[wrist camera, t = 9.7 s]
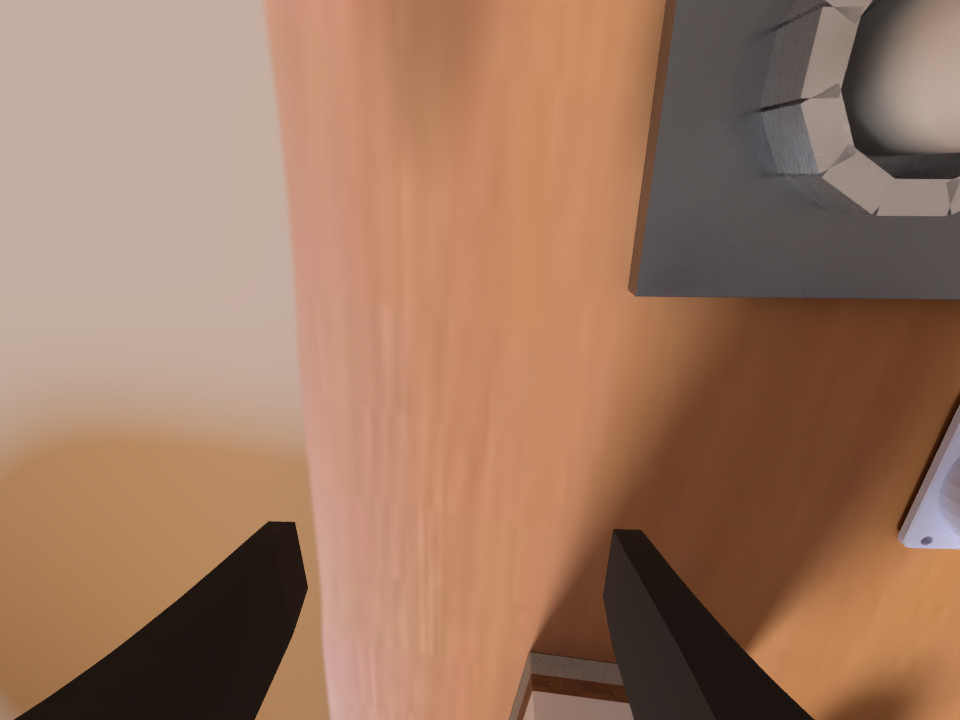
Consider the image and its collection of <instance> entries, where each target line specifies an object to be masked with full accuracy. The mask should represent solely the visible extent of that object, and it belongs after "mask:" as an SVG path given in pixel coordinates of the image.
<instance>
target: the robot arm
mask: <svg viewBox="0 0 960 720" xmlns="http://www.w3.org/2000/svg"><path fill="white" fill-rule="evenodd" d="M898 540H899V541H900V542H901V543H902V544H903V545H904V546H906V547H908V548H935V549H960V404H959V407H958V409H957V411H956V413H955V415H954V417H953V419H952V421H951V424H950V426H949V428H948V430H947V432H946V434H945V436H944V438H943V441H942V443H941V445H940V447H939V449H938V451H937V453H936V455H935V458H934V460H933V462H932V464H931V466H930V468H929V470H928V472H927V475H926V477H925V479H924V481H923V483H922V485H921V487H920V489H919V492H918V494H917V496H916V498H915V500H914V502H913V504H912V506H911V509H910V511H909V513H908V515H907V517H906V519H905V521H904V524H903V526H902V528H901V530H900V532H899V534H898ZM307 589H308V585H307V580H306V575H305V571H304V565H303V560H302V555H301V550H300V545H299V541H298V535H297V530H296V525H295V522H271V521H269V522H267V523H266V524H265V525H264V526H263V527H261V529H259V530H258V531H257V532H256V533H254V535H252V536H251V537H250V538H249V539H248V540H246V541H245V542H244V543H243V544H242V545H241V546H240V547H239V548H238V549H236V550H235V551H234V552H233V553H232V554H231V555H229V556H228V557H227V558H226V559H225V560H224V561H223V562H222V563H220V564H219V565H218V566H217V567H216V568H215V569H213V570H212V571H211V572H210V573H209V574H208V575H206V576H205V577H204V578H203V579H202V580H201V581H200V582H198V583H197V584H196V585H195V586H194V587H192V588H191V589H190V590H189V591H188V592H187V593H185V594H184V595H183V596H182V597H181V598H179V599H178V600H177V601H176V602H174V604H172V605H171V606H170V607H168V608H167V609H166V610H164V611H163V612H162V613H161V614H159V615H158V616H157V617H156V618H154V619H153V620H152V621H151V622H149V623H148V624H147V625H146V626H145V627H143V628H142V629H141V630H139V631H138V632H137V633H136V634H134V635H133V636H132V637H131V638H130V639H128V640H127V641H126V642H124V643H123V644H122V645H120V646H119V647H118V648H117V649H115V650H114V651H112V652H111V653H110V654H108V655H107V656H106V657H104V658H103V659H102V660H100V661H99V662H98V663H96V664H95V665H94V666H92V667H91V668H89V669H88V670H86V671H85V672H84V673H82V674H81V675H79V676H78V677H77V678H75V679H74V680H72V681H71V682H70V683H68V684H67V685H65V686H64V687H62V688H61V689H60V690H58V691H57V692H55V693H54V694H52V695H51V696H50V697H48V698H46V699H45V700H44V701H42V702H41V703H39V704H38V705H36V706H34V707H33V708H31V709H30V710H28V711H27V712H25V713H24V714H22V715H21V716H19V717H17V718H16V719H14V720H255V718H256V715H257V713H258V711H259V709H260V707H261V704H262V702H263V700H264V698H265V696H266V693H267V691H268V689H269V687H270V685H271V682H272V680H273V678H274V676H275V674H276V671H277V669H278V667H279V665H280V663H281V660H282V658H283V656H284V654H285V651H286V649H287V647H288V645H289V642H290V640H291V638H292V635H293V632H294V629H295V627H296V623H297V621H298V617H299V615H300V612H301V608H302V605H303V602H304V599H305V596H306V592H307ZM603 597H604V603H605V609H606V614H607V620H608V626H609V631H610V636H611V641H612V646H613V649H614V653H615V657H616V660H617V664H618V667H619V670H620V674H621V677H622V681H623V684H624V688H625V691H626V695H627V698H628V701H629V705H630V708H631V712H632V715H633V718H634V720H814V719H813V718H812V717H811V716H810V715H809V714H808V713H807V712H806V711H805V710H803V709H802V708H801V707H800V706H799V705H798V704H797V703H796V702H795V701H794V700H793V699H792V698H791V697H790V696H789V695H788V694H787V693H786V692H785V691H783V690H782V689H781V688H780V687H779V686H778V685H777V684H776V683H775V682H774V681H773V680H772V679H771V678H770V677H769V676H768V675H767V674H766V673H765V672H764V671H763V670H762V669H761V668H760V666H759V665H758V664H757V663H756V662H755V661H754V660H753V659H752V658H751V657H750V656H749V655H748V654H747V653H746V652H745V651H744V650H743V649H742V648H741V647H740V646H739V644H738V643H737V642H736V641H735V640H734V639H733V638H732V637H731V636H730V635H729V634H728V633H727V631H726V630H725V629H724V628H723V627H722V626H721V625H720V624H719V623H718V622H717V620H716V619H715V618H714V617H713V616H712V615H711V614H710V612H709V611H708V610H707V609H706V608H705V607H704V606H703V604H702V603H701V602H700V601H699V600H698V599H697V598H696V596H695V595H694V594H693V593H692V592H691V591H690V589H689V588H688V587H687V586H686V585H685V583H684V582H683V581H682V580H681V579H680V577H679V576H678V575H677V574H676V572H675V571H674V570H673V569H672V568H671V566H670V565H669V564H668V563H667V561H666V560H665V559H664V558H663V556H662V555H661V554H660V553H659V551H658V550H657V549H656V548H655V546H654V545H653V544H652V543H651V541H650V540H649V539H648V538H647V536H646V535H645V534H644V533H643V532H642V531H641V530H622V529H613V534H612V540H611V547H610V554H609V560H608V567H607V573H606V580H605V587H604V593H603Z"/></svg>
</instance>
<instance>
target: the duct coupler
mask: <svg viewBox="0 0 960 720" xmlns="http://www.w3.org/2000/svg"><path fill="white" fill-rule="evenodd" d="M841 93H842V97H843V101H844V105H845V110H846V114H847V118H848V122H849V126H850V131H851V135H852V139H853V143H854V147H855V148H856V149H857V150H858V151H860V152H861V153H863V154H866V155H872V156H901V155H921V154H941V153H960V0H881V1H880V2H878V3H877V4H876V5H875V6H873V7H872V8H871V9H870V10H869V11H868V12H867V13H866V14H865V15H864V16H863V17H862V18H861V19H860V21H859V24H858V28H857V32H856V36H855V39H854V43H853V47H852V50H851V54H850V58H849V61H848V65H847V69H846V72H845V76H844V80H843V83H842V87H841Z"/></svg>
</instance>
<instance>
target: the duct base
mask: <svg viewBox="0 0 960 720" xmlns="http://www.w3.org/2000/svg"><path fill="white" fill-rule="evenodd" d="M880 1H881V0H666V7H665V15H664V22H663V30H662V37H661V45H660V52H659V60H658V67H657V75H656V82H655V90H654V98H653V105H652V113H651V120H650V128H649V135H648V143H647V150H646V158H645V165H644V173H643V181H642V188H641V196H640V203H639V211H638V218H637V226H636V233H635V241H634V249H633V256H632V264H631V271H630V279H629V286H628V290H629V291H630V292H631V293H632V294H634V295H635V296H651V297H752V298H853V299H954V300H960V153H941V154H921V155H901V156H872V155H866V154H863V153H861V152H860V151H858V150H857V149H856V148H855V147H854V143H853V139H852V135H851V131H850V126H849V122H848V118H847V114H846V110H845V105H844V101H843V97H842V93H841V87H842V83H843V80H844V76H845V72H846V69H847V65H848V61H849V58H850V54H851V50H852V47H853V43H854V39H855V36H856V32H857V28H858V24H859V21H860V19H861V18H862V17H863V16H864V15H865V14H866V13H867V12H868V11H869V10H870V9H871V8H872V7H873V6H875V5H876V4H877V3H878V2H880Z"/></svg>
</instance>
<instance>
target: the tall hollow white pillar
mask: <svg viewBox="0 0 960 720" xmlns="http://www.w3.org/2000/svg"><path fill="white" fill-rule="evenodd" d="M509 720H634V718H633V715H632V712H631V708H630V705H629V701H628V698H627V695H626V691H625V688H624V684H623V681H622V677H621V674H620V670H619V667H618V664H614V663H606V662H599V661H592V660H584V659H577V658H569V657H562V656H554V655H547V654H540V653H532V652H529V656H528V659H527V662H526V666H525V669H524V672H523V675H522V679H521V682H520V685H519V689H518V692H517V695H516V699H515V702H514V705H513V708H512V712H511V715H510V718H509Z"/></svg>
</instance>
